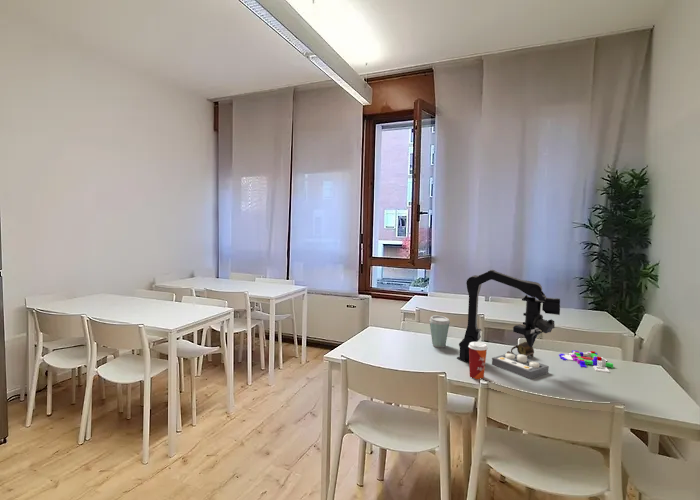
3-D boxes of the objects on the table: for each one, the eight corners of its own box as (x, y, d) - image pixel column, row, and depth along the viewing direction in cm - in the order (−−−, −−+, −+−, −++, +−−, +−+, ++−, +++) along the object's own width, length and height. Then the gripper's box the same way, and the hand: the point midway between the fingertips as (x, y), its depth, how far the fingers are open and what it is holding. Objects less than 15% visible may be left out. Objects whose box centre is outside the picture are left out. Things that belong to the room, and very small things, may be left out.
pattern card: (527, 370, 165) (527, 369, 165) (496, 358, 178) (497, 358, 178) (532, 368, 167) (532, 367, 167) (502, 357, 180) (502, 356, 179)
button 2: (535, 373, 168) (535, 365, 167) (527, 370, 171) (527, 362, 171) (541, 371, 170) (541, 363, 169) (532, 368, 173) (532, 360, 173)
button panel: (530, 379, 163) (530, 372, 163) (491, 364, 179) (492, 357, 179) (548, 372, 170) (548, 366, 170) (509, 359, 186) (510, 352, 186)
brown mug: (539, 350, 183) (532, 339, 193) (511, 346, 184) (505, 336, 194) (536, 363, 186) (528, 352, 195) (508, 360, 186) (502, 348, 196)
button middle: (523, 365, 172) (523, 358, 172) (514, 362, 176) (515, 355, 176) (528, 363, 175) (528, 356, 174) (520, 360, 178) (520, 353, 178)
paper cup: (483, 382, 159) (485, 348, 158) (464, 377, 164) (466, 344, 162) (488, 375, 166) (489, 343, 165) (469, 371, 170) (471, 340, 169)
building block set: (556, 350, 201) (556, 342, 201) (603, 356, 194) (603, 347, 193) (563, 367, 178) (564, 358, 177) (617, 375, 170) (618, 364, 170)
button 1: (510, 364, 178) (511, 356, 177) (503, 361, 181) (503, 354, 181) (516, 362, 180) (516, 355, 180) (508, 359, 183) (509, 352, 183)
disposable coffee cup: (452, 345, 206) (453, 316, 204) (445, 350, 197) (446, 321, 195) (432, 341, 211) (433, 313, 210) (425, 346, 202) (426, 318, 201)
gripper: (537, 318, 158) (534, 356, 159) (563, 313, 168) (560, 349, 169) (513, 312, 167) (510, 348, 169) (539, 307, 177) (536, 341, 178)
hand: (530, 346), depth 171 cm, fingers closed
